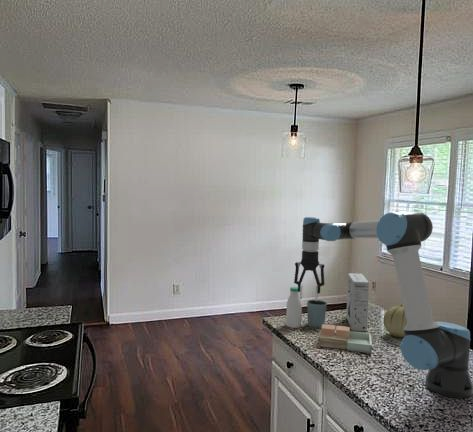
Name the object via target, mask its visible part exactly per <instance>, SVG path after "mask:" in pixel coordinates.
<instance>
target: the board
mask: <svg viewBox="0 0 473 432" xmlns="http://www.w3.org/2000/svg"><path fill="white" fill-rule="evenodd" d="M347 342H348V337H339V336H336V328H335V336H330V335H321V332H320V333H319V338H318V347H324V348H333V349H339V350H340V349H341V350H347Z"/></svg>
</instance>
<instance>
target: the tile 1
mask: <svg viewBox="0 0 473 432" xmlns="http://www.w3.org/2000/svg"><path fill="white" fill-rule="evenodd" d="M336 326H337V325H333V324H325V323H324V324H322V327H320V328H321V330H320V333H321V335H330V336H335V329H336Z"/></svg>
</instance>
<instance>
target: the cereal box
mask: <svg viewBox="0 0 473 432" xmlns="http://www.w3.org/2000/svg"><path fill="white" fill-rule="evenodd" d="M346 289H347V291H346V293H347V294H346V298H347V299H346V316H345V317H346V320H347V322H348V324H349V327H350V331H354V332H368V316H369V314H368V313H369V292H370V291H369V289H370V282H369V281H368V280H367V278H366V277H365V275H364V274H362V273H354V272H353V273H352V272H351V273H350V272H349V273H348V274H347V288H346Z"/></svg>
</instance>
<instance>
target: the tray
mask: <svg viewBox="0 0 473 432" xmlns="http://www.w3.org/2000/svg"><path fill="white" fill-rule="evenodd" d="M372 341H373V340H372V333H370V332H364V331H352V330H350V336H349V338H348V337H347V349H346V351H350V352H360V353H367V354H372V353H373V352H372V350H373V343H372Z"/></svg>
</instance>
